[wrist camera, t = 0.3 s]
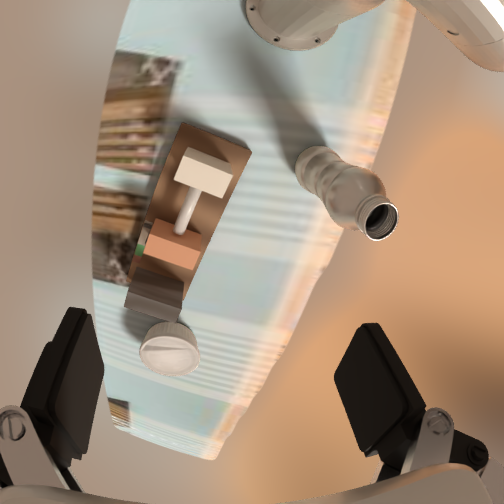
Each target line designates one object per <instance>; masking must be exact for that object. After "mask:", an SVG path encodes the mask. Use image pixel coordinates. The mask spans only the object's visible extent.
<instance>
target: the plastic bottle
mask: <svg viewBox="0 0 504 504" xmlns="http://www.w3.org/2000/svg"><path fill="white" fill-rule="evenodd" d="M295 174H296V177H297V180H298V182H299V184H300V185H301V186H302V187H303V188H304V189H305V190H307V191H309V192H310V193H313V194H315V195H317V196H318V197H319V198H320V199H321V201H322V202H323V203H324V205H325V207H326V209H327V211H328V213H329V215H330V217H331V218H332V219H333V221H334V222H335V223H336V224H337V225H339V226H340V227H343V228H346V229H349V230H354V231H355V230H360V231H361V232H362V233H364V234H365V235H366V236H367V237H368V238H370V239H372V240H375V241H379V240H383V239H385V238H387V237H388V236H390V235H391V234H392V233H393V231H394V230H395V228H396V227H397V224H398V220H399V214H398V210H397V209H396V207H395V205H393V204H392V203H391V202H390V201H389V199H388V198H386V191H385V187H384V185H383V183H382V181H381V180H380V178H379V177H378V176H377V175H376V174H375V173H374V172H372V171H370V170H368V169H366V168H362V167H358V166H353V165H351V164H348V163H346V162H344V161H343V160H342V159H341V158H340V157H339V156H338V155H337V153H335V152H334V151H333V150H332V149H330V148H328V147H324V146H313V147H310V148H307V149H306V150H304V151H303V152H302V153H301V154H300V155H299V157H298V159H297V161H296V164H295Z"/></svg>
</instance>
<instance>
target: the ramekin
mask: <svg viewBox="0 0 504 504" xmlns="http://www.w3.org/2000/svg"><path fill="white" fill-rule="evenodd" d="M139 353H140V358H141V360H142V362H143V363H144V364H145V365H146V366H147V367H148V368H149V369H151V370H152V371H154V372H156V373H159V374H162V375H167V376H181V375H185V374H188V373H190V372H192V371H193V370H194V369H196V367H197V366H198V364H199V361H200V353H199V350H198V346H197V341H196V338H195V336H194V334H193V333H192V331H191V330H190V329H188V328H187V327H186V326H184V325H182V324H180V323H172V322H161V323H158V324H156V325H154V326H152V327H151V328H150V329H149V330H148V332H147V334H146V336H145V339H144V341H143V342H142V344H141V346H140V352H139Z"/></svg>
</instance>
